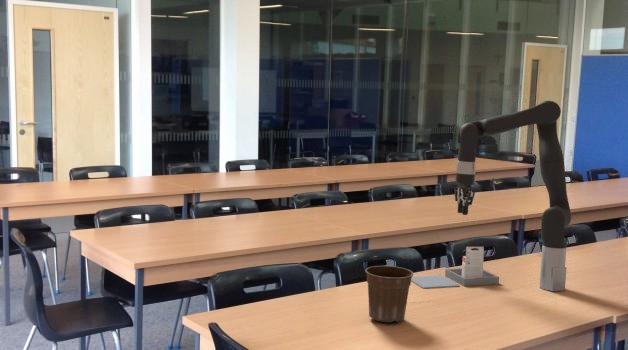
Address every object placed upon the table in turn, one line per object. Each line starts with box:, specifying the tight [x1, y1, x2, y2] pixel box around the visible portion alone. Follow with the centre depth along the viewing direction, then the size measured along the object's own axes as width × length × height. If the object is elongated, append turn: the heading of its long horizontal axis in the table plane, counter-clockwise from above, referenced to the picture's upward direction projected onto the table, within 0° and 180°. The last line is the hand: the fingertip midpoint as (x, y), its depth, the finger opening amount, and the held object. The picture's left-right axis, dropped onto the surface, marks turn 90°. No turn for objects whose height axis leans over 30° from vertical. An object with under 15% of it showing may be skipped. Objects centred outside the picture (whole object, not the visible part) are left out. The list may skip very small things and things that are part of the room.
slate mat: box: [411, 274, 460, 290], centre depth 289 cm, size 16×16×1 cm
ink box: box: [461, 246, 485, 278], centre depth 293 cm, size 4×8×15 cm, turn 97°
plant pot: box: [365, 265, 414, 323], centre depth 241 cm, size 16×16×16 cm
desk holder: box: [444, 267, 500, 287], centre depth 294 cm, size 16×16×3 cm
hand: (462, 213), depth 290 cm, fingers open, 3 cm apart
